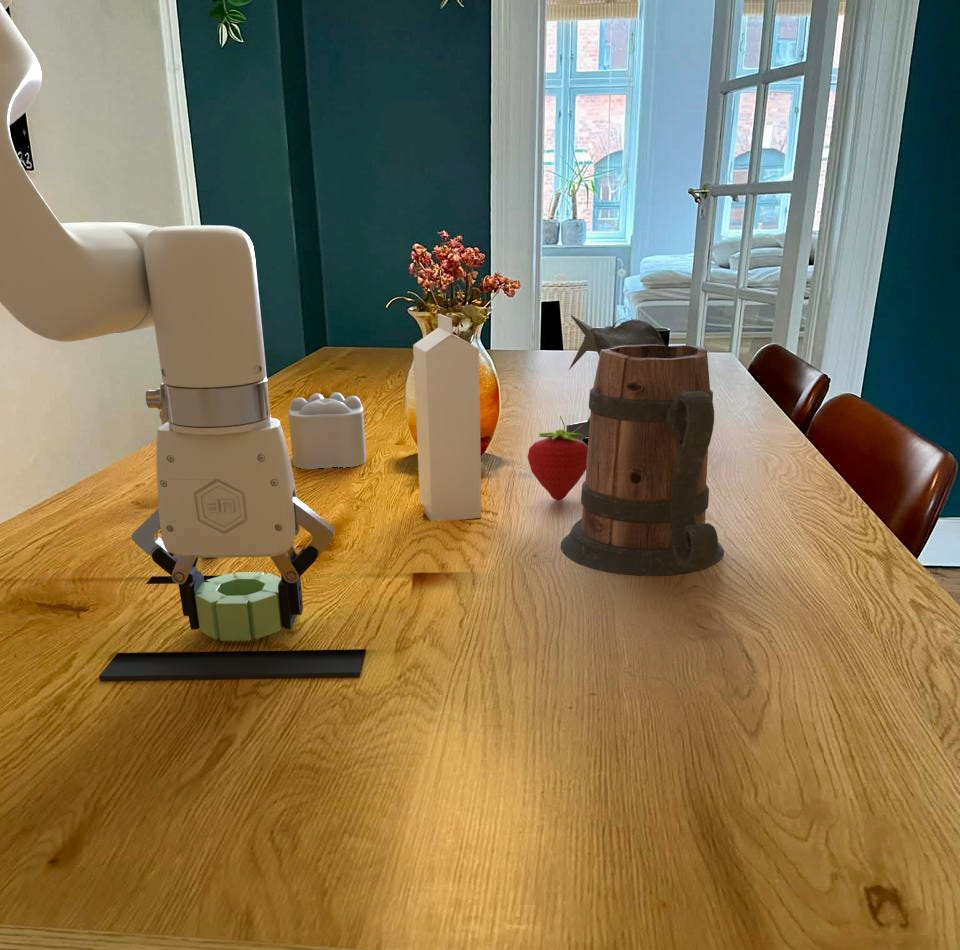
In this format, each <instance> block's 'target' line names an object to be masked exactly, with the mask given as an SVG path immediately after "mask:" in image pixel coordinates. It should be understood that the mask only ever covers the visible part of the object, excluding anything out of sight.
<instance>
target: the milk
mask: <svg viewBox="0 0 960 950" xmlns="http://www.w3.org/2000/svg"><path fill="white" fill-rule="evenodd" d="M453 331H454V330H453V319H452V318H451V317H449V316H446V315H443V314H441V313H437V328H435V329H433V330H432V331H431V332H430V333H429V334H427V335H425V336H424V337H422V338H421V339H420V340H418V341H417V342H415V343H414V344H413V345H412V348H413V349H412V350H413V352H412V353H413V374H414V375H413V376H414V395H415V396H414V397H415V419H416V421H415V423H416V440H417V441H416V445H417V468H418V470H417V471H418V490H419V494H418V495H419V504H421V505H422V506H423V514H424V515H425V516H426V517H427V519H428V520H429V521H430V522H433V521H434V522H435V521H439V522H441V521H443V522H444V521H465V520H472V519H473V520H474V519H482V513H483V512H482V453H481V447H482V446H481V445H482V443H481V386H480V385H481V384H480V383H481V381H480V380H481V377H480V348H479V347H477V346H475V345H473V344H471V343H469V342H468V341H466V340H465V339H462V338H461V337H459V336H457V335H456V334H454V333H453Z"/></svg>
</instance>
